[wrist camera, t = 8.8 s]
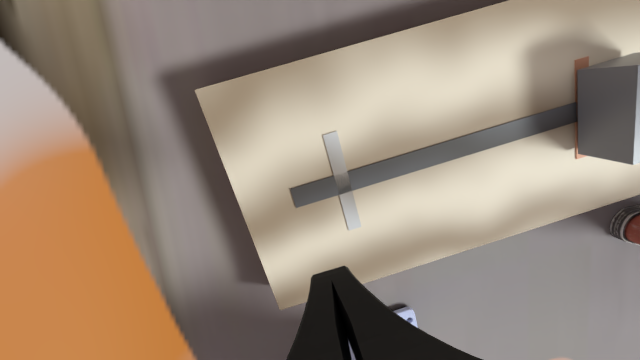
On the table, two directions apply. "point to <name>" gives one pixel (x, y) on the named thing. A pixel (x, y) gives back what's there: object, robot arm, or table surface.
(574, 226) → the table surface
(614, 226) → the lighter
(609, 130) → the fader
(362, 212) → the console board
